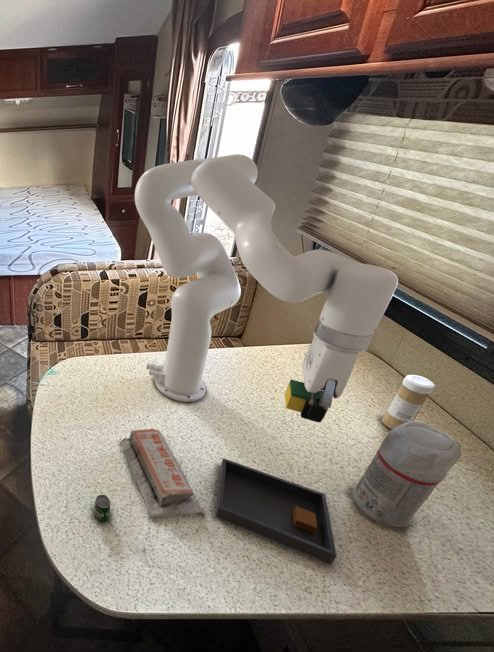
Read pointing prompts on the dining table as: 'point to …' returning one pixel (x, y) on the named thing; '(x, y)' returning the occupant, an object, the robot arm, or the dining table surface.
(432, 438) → the grey plastic tub
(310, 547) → the pan
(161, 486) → the packaged product
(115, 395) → the dining table surface
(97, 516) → the beer can
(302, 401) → the sponge
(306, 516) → the brown square tile
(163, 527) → the dining table surface
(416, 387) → the sprinkles bottle
